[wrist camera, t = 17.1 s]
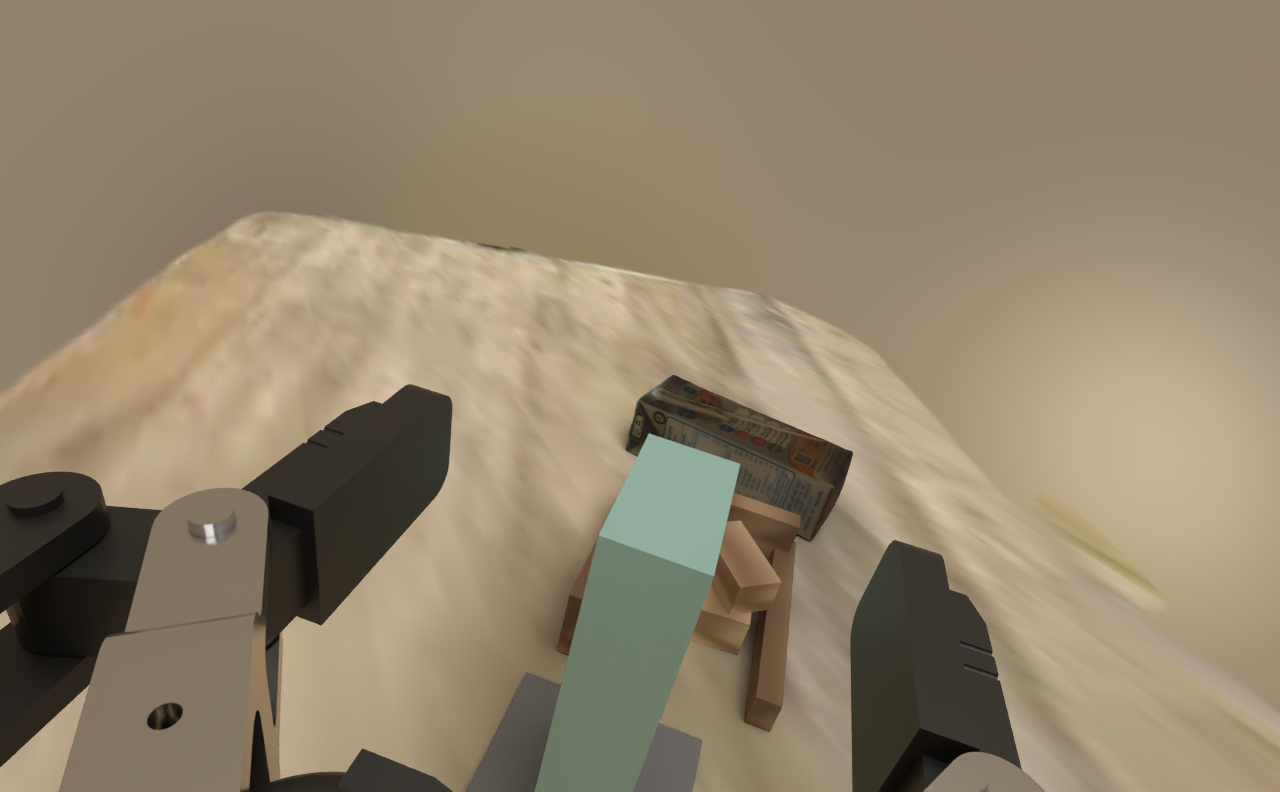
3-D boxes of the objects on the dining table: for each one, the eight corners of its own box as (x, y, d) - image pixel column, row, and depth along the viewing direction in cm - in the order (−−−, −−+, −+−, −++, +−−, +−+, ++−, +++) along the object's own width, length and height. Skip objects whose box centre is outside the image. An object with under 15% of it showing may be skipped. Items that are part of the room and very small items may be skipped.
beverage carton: (658, 420, 70) (674, 364, 67) (834, 504, 64) (861, 447, 61) (621, 452, 64) (636, 392, 60) (813, 549, 57) (842, 488, 54)
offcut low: (743, 585, 52) (755, 555, 50) (736, 657, 46) (750, 625, 44) (698, 571, 52) (709, 540, 50) (685, 640, 46) (697, 608, 44)
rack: (786, 564, 55) (806, 517, 52) (769, 731, 41) (796, 678, 39) (623, 507, 56) (636, 459, 54) (556, 650, 43) (569, 594, 40)
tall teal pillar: (636, 749, 38) (740, 463, 28) (599, 882, 32) (713, 576, 22) (570, 723, 38) (649, 433, 28) (520, 849, 32) (598, 535, 22)
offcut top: (730, 546, 50) (740, 520, 49) (769, 609, 46) (782, 582, 44) (692, 550, 49) (701, 523, 48) (728, 615, 44) (740, 587, 43)
